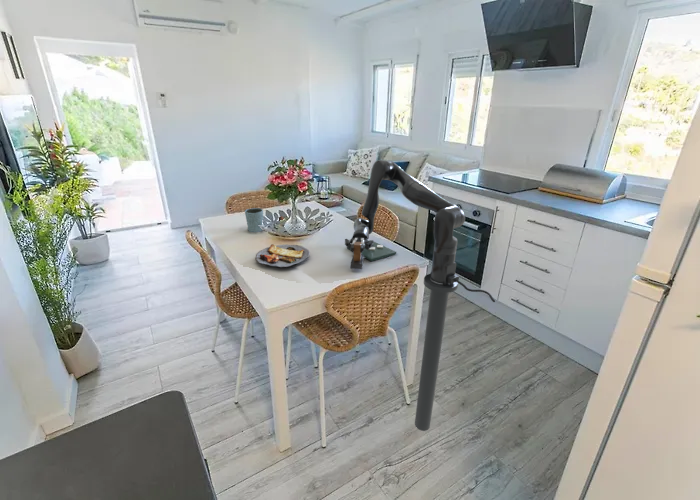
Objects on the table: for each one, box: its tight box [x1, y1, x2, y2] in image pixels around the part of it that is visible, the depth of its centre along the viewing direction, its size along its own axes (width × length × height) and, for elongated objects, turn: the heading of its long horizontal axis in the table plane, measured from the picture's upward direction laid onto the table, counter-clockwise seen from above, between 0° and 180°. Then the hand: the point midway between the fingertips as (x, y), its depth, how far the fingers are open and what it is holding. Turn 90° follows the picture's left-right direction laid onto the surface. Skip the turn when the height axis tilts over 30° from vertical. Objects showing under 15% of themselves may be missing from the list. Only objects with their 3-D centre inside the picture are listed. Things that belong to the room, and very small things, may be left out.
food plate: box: [254, 243, 311, 268], centre depth 165 cm, size 25×23×4 cm
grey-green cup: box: [244, 207, 264, 233], centre depth 200 cm, size 10×10×12 cm
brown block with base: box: [349, 242, 365, 270], centre depth 154 cm, size 5×10×10 cm, turn 173°
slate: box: [346, 239, 397, 262], centre depth 176 cm, size 20×16×1 cm
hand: (357, 250), depth 151 cm, fingers closed on brown block with base, 3 cm apart
